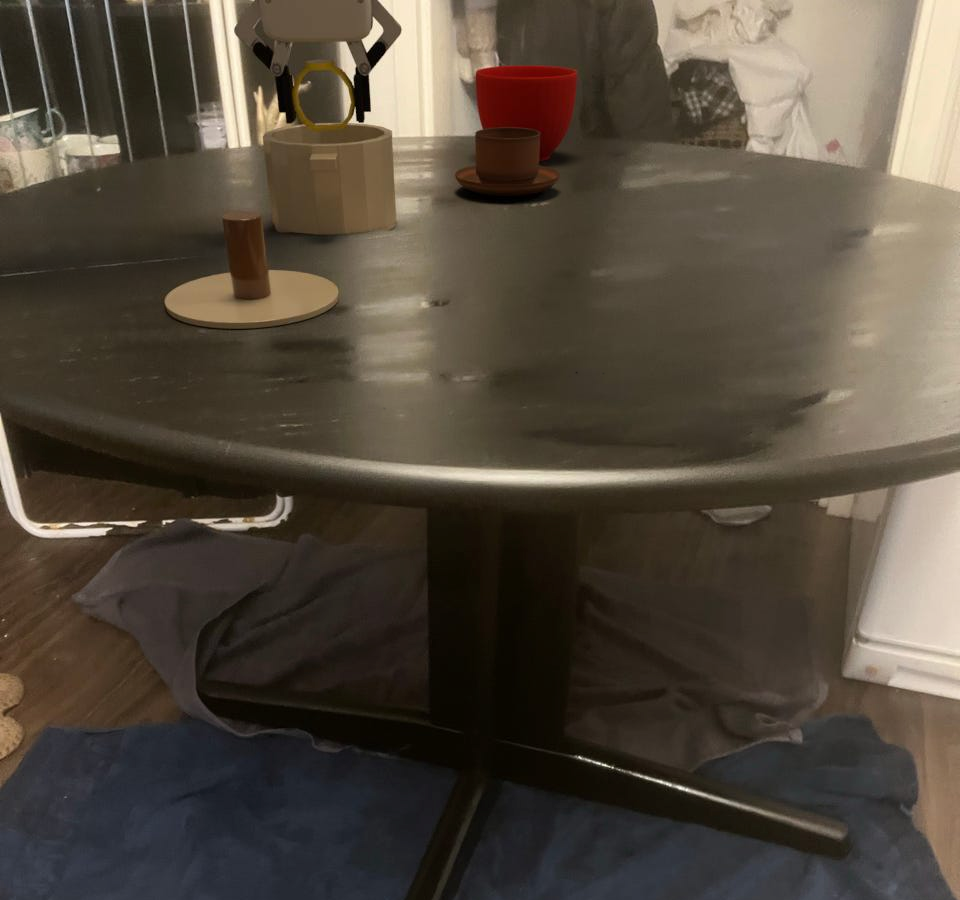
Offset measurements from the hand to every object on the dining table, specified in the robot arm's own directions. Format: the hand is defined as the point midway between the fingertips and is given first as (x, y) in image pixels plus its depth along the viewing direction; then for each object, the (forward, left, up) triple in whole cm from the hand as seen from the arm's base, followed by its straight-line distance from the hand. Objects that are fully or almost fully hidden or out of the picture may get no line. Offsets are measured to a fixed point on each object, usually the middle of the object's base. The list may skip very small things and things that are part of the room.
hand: (326, 119), depth 95 cm
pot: (0, 0, -10) cm, 10 cm away
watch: (0, 0, -1) cm, 1 cm away
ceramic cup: (+23, +36, -10) cm, 44 cm away
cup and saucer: (+19, +14, -10) cm, 26 cm away
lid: (-5, -27, -9) cm, 29 cm away
